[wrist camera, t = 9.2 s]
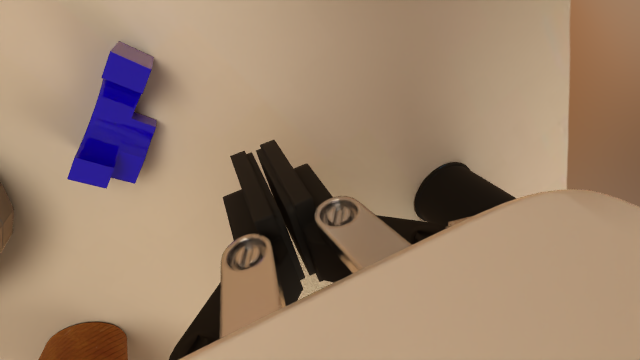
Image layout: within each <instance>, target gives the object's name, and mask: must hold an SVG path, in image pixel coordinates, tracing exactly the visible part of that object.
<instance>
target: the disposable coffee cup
mask: <svg viewBox="0 0 640 360" xmlns="http://www.w3.org/2000/svg"><path fill="white" fill-rule="evenodd" d="M39 360H128V355H127V337H126V334H125V333H124V332H123V331H122V330H121V329H120V328H118V327H117V326H114V325H111V324H107V323H101V322H91V323H82V324H78V325H74V326H71V327H68V328H66V329H63V330H62V331H60V332H58V333H57V334H55V335H54V336H52V338H51V339H50V340H49V341H48V342H47V344H46V346H45V348H44V350H43V352H42V354H41V356H40V358H39Z"/></svg>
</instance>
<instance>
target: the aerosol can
mask: <svg viewBox="0 0 640 360" xmlns="http://www.w3.org/2000/svg"><path fill="white" fill-rule="evenodd" d="M514 199H516V198H515V197H513V196H511V195H510V194H508V193H506V192H505V191H503V190H501V189H500V188H498V187H497V186H495V185H493V184H492V183H490V182H488V181H487V180H485V179H483V178H482V177H480V176H478V175H477V174H475V173H473V172H472V171H470V169H469V168H468V167H467V166H466V165H464V164H462V163H457V162H454V163H448V164H445V165H443V166H441V167H439V168H438V169H436V170H435V171H433V172H432V173H431V174H430V175H429V176H428V177H427V178H426V179H425V181H424V182H423V183H422V185H421V186H420V188H419V190H418V193H417V195H416V199H415V211H416V213H417V215H418V216H419V217H420V218H421V219H422V220H424V221H427V222H430V223H435V224H439V225H442V226H444V227H447V226H448V222H451V221H455V220H459V219H463V218H467V217H471V216H474V215H477V214H479V213H481V212H484V211H486V210H489V209H491V208H493V207H496V206H498V205H500V204H503V203H505V202H508V201H511V200H514Z"/></svg>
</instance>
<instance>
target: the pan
mask: <svg viewBox="0 0 640 360" xmlns="http://www.w3.org/2000/svg"><path fill="white" fill-rule="evenodd" d="M13 215H14V209H13V206H12V204H11V202H10V200H9V198H8V195H7V193H6V191H5V189H4V187H3V185H2V184H1V183H0V254H1V252H2V250H3V249H4V247H5V245H6V243H7V242H8V240H9V238H10V236H11V235H12V233H13Z"/></svg>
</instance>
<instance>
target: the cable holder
mask: <svg viewBox="0 0 640 360" xmlns="http://www.w3.org/2000/svg"><path fill="white" fill-rule="evenodd" d="M153 59H154V57H152V56H150V55H148V54H146V53H144V52H142V51H140V50H137V49H135V48H133V47H131V46H129V45H127V44H124V43H122V42H120V41H119V42H118V43H117V44H116V45H115V47H114V48H113V49H112V50H111V51H110V54H109V57H108V60H107V63H106V66H105V69H104V72H103V75H102V78H103V82H102V86H101V90H100V93H99V96H98V100H97V103H96V106H95V109H94V111H93V114H92V117H91V120H90V122H89V125H88V128H87V130H86V133H85V135H84V138H83V140H82V143H81V145H80V147H79V149H78V152H77V154H76V156H75V158H74V161H73V164H72V167H71V170H70V173H69V176H68V179H69V180H73V181H77V182H81V183H86V184H90V185H94V186H98V187H102V188H107V186H108V183H109V181H110V178H115V179H119V180H123V181H127V182H131V183H135V182H136V180H137V177H138V175H139V172H140V170H141V167H142V165H143V162H144V160H145V157H146V154H147V151H148V148H149V145H150V142H151V139H152V136H153V134H154V131H155V129H156V120H155V119H152V118H150V117H147V116H144V115H142V114H139V113H136V112H134V111H135V108H136V105H137V103H138V101H139V98H140V96H141V94H143V91H144V88H145V86H146V83H147V80H148V78H149V75H150V73H151V70H152V65H153Z"/></svg>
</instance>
